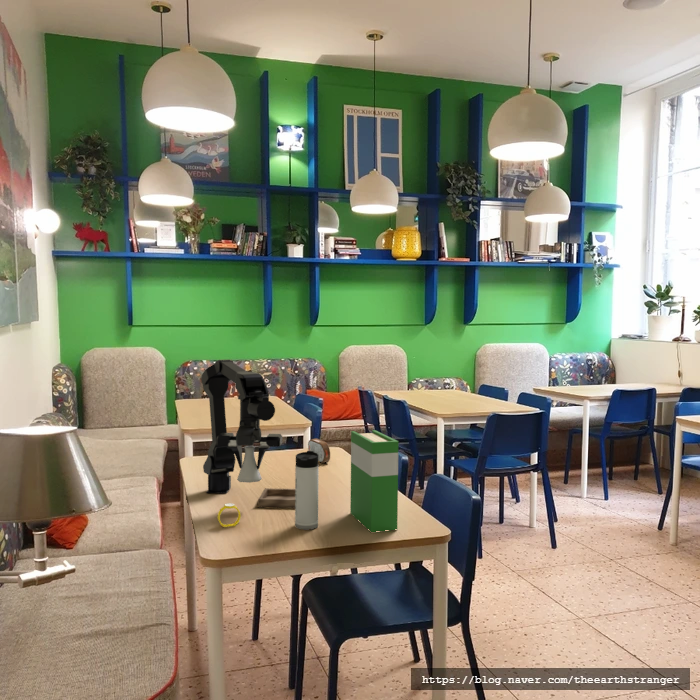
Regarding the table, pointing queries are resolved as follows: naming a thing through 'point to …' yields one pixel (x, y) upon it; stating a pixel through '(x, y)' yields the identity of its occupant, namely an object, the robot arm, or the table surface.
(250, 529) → the table surface
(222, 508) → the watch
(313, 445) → the tin
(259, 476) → the flask
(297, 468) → the travel mug
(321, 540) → the table surface
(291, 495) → the tray
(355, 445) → the hardback book
